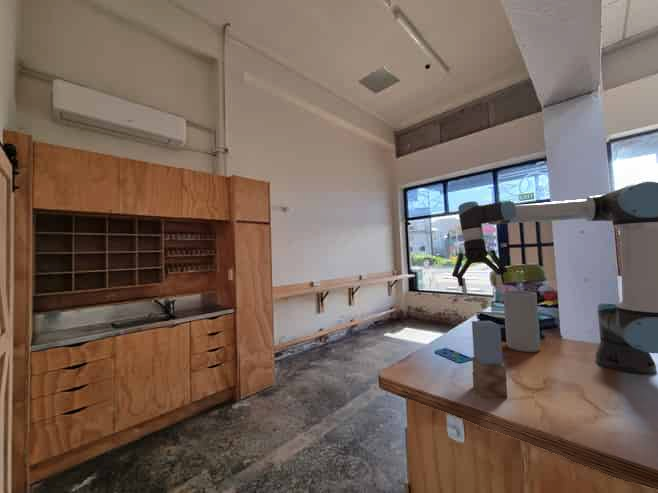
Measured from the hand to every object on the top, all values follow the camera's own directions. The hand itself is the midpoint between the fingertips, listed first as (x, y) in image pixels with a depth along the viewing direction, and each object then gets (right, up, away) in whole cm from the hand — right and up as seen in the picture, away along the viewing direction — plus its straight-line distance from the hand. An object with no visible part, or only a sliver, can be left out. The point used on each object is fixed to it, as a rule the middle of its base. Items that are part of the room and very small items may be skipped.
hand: (482, 292), depth 106 cm
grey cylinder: (+28, -28, +16) cm, 42 cm away
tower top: (-9, -24, -20) cm, 32 cm away
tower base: (-9, -29, -20) cm, 36 cm away
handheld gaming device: (-7, -30, +11) cm, 33 cm away
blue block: (-9, -19, -19) cm, 28 cm away
